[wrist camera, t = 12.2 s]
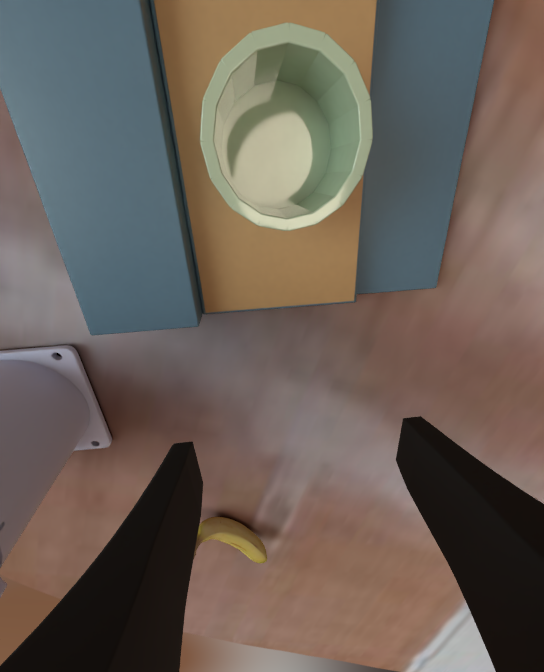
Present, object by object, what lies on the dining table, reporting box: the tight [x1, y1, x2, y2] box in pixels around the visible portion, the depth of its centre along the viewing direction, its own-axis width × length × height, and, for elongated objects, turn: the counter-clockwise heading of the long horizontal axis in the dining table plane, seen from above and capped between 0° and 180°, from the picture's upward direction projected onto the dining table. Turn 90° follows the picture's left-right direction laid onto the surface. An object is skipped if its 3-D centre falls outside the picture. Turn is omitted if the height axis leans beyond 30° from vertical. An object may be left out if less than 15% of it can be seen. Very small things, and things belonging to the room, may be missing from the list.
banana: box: [193, 517, 267, 563], centre depth 25 cm, size 8×2×4 cm, turn 47°
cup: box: [200, 22, 373, 231], centre depth 11 cm, size 5×5×4 cm
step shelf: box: [0, 0, 494, 335], centre depth 13 cm, size 18×14×4 cm
